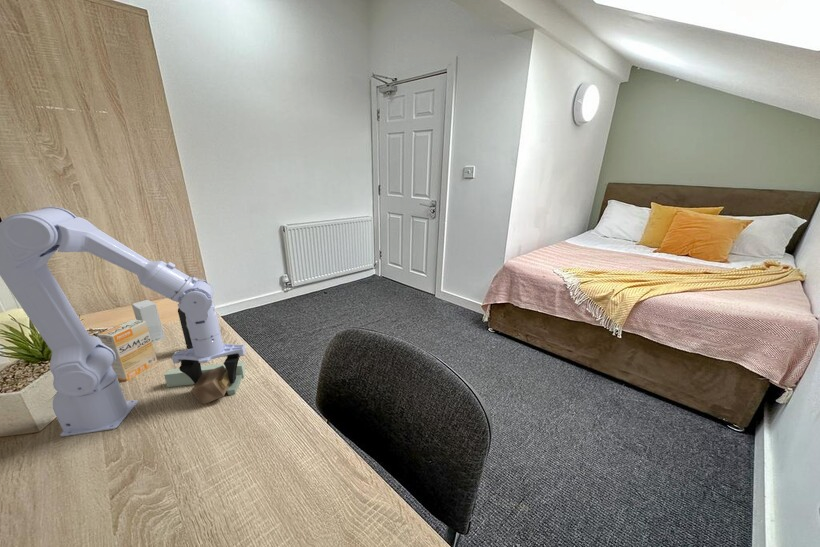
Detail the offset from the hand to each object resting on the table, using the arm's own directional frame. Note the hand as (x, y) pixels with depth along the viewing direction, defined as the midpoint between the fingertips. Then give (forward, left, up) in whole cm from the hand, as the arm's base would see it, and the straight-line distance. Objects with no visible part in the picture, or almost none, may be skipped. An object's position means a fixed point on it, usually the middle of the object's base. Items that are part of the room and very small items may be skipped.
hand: (217, 382), depth 74 cm
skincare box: (-27, +29, -2) cm, 40 cm away
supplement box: (-23, +12, -2) cm, 26 cm away
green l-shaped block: (-4, +4, -2) cm, 6 cm away
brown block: (-2, -2, 0) cm, 3 cm away
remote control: (-11, +19, -2) cm, 22 cm away
